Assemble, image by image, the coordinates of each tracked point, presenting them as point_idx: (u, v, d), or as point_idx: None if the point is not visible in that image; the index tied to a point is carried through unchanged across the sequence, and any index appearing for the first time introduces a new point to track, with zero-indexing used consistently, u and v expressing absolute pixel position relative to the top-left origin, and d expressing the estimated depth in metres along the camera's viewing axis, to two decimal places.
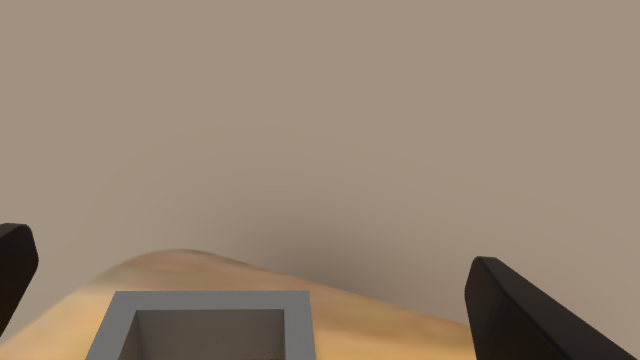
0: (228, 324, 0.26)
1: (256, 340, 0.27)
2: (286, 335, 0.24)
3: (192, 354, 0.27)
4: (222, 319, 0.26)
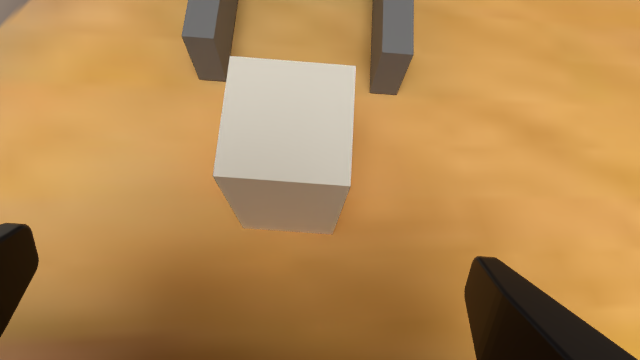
0: None
1: None
2: None
3: None
4: None
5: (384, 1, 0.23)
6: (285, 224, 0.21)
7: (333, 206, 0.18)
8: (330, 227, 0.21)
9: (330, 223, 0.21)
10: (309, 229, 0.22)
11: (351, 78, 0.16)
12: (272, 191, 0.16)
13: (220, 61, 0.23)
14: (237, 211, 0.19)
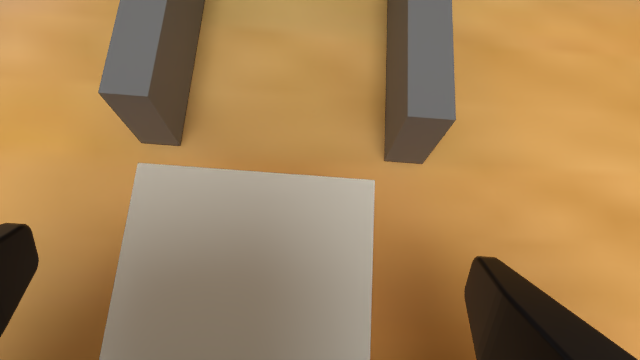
0: None
1: None
2: None
3: None
4: None
5: (409, 36, 0.15)
6: None
7: None
8: None
9: None
10: None
11: (366, 206, 0.09)
12: None
13: (166, 123, 0.16)
14: None
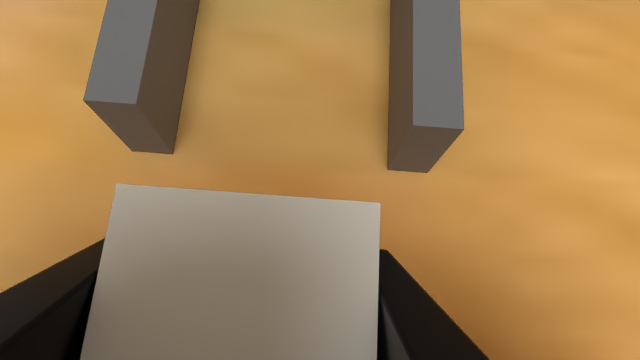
0: None
1: None
2: None
3: None
4: None
5: (414, 39, 0.14)
6: None
7: None
8: None
9: None
10: None
11: (371, 232, 0.08)
12: None
13: (156, 131, 0.15)
14: None
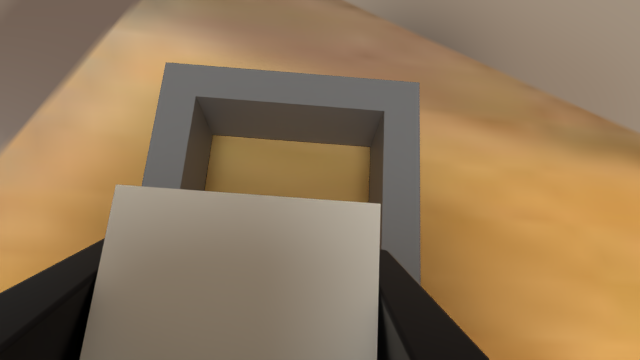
0: (311, 117, 0.20)
1: (343, 131, 0.22)
2: (385, 153, 0.19)
3: (267, 134, 0.23)
4: (303, 112, 0.20)
5: None
6: None
7: None
8: None
9: None
10: None
11: (371, 233, 0.08)
12: None
13: None
14: None
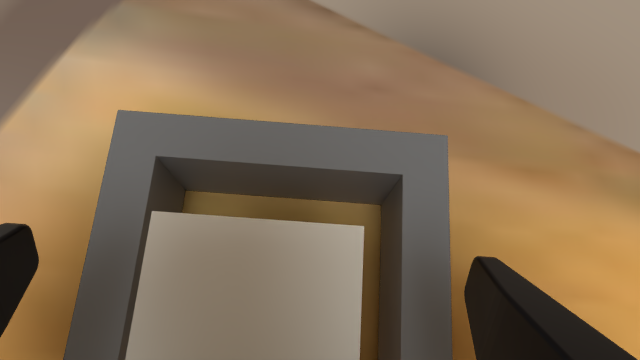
0: (307, 177, 0.16)
1: (348, 191, 0.17)
2: (404, 233, 0.14)
3: (253, 191, 0.18)
4: (297, 173, 0.15)
5: None
6: None
7: None
8: None
9: None
10: None
11: (356, 250, 0.10)
12: None
13: None
14: None
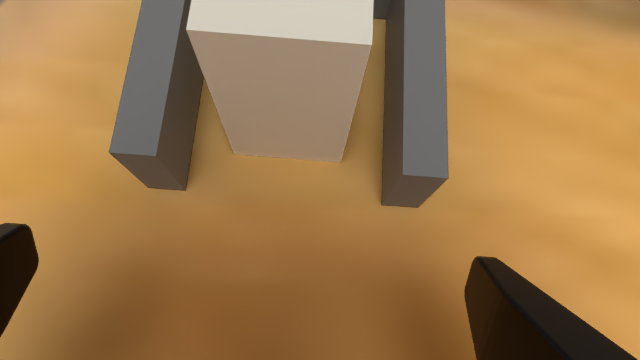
0: None
1: None
2: None
3: None
4: None
5: (405, 94, 0.16)
6: (284, 143, 0.18)
7: (346, 98, 0.14)
8: (339, 147, 0.18)
9: (339, 138, 0.17)
10: (313, 153, 0.18)
11: None
12: (267, 64, 0.12)
13: (172, 174, 0.17)
14: (224, 117, 0.16)
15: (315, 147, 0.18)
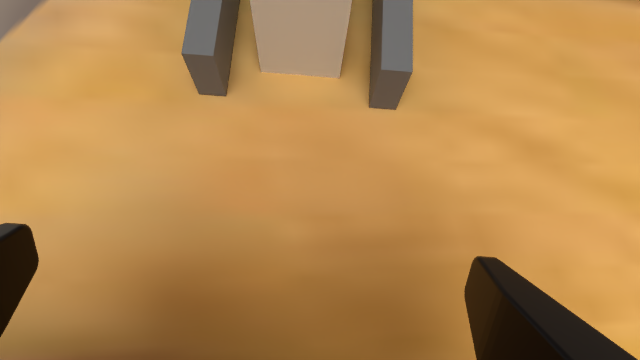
0: None
1: None
2: None
3: None
4: None
5: (383, 18, 0.23)
6: (298, 59, 0.24)
7: (342, 13, 0.21)
8: (338, 61, 0.24)
9: (338, 52, 0.24)
10: (319, 68, 0.25)
11: None
12: None
13: (220, 77, 0.24)
14: (258, 33, 0.23)
15: (320, 62, 0.25)
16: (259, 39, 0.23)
